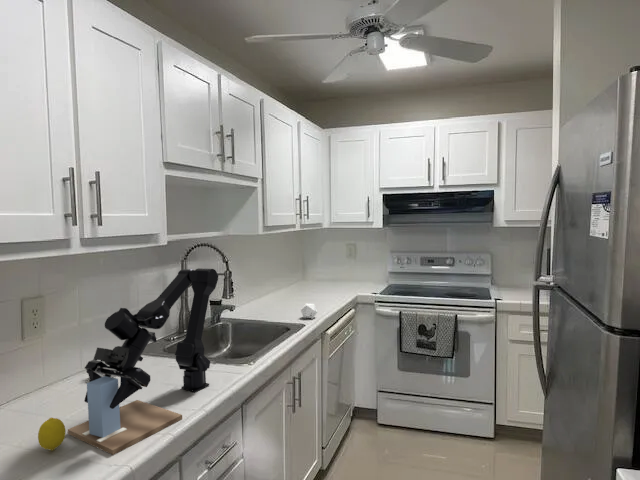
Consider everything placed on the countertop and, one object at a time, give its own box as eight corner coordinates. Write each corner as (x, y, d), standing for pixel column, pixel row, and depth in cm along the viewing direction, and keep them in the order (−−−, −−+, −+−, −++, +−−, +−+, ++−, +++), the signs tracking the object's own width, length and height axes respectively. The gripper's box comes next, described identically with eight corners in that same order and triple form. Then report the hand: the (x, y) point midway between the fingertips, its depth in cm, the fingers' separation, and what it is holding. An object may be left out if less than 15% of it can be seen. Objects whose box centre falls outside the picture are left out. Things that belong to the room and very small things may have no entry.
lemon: (71, 443, 102) (69, 412, 102) (57, 456, 97) (55, 423, 96) (48, 444, 102) (46, 413, 102) (33, 457, 97) (31, 424, 96)
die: (306, 321, 222) (317, 307, 222) (295, 312, 226) (305, 298, 226) (312, 323, 229) (322, 309, 229) (301, 314, 233) (311, 300, 233)
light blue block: (107, 424, 109) (104, 376, 108) (120, 428, 106) (117, 378, 106) (89, 433, 104) (86, 383, 103) (103, 437, 102) (100, 386, 101)
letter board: (137, 403, 124) (137, 399, 124) (182, 418, 114) (182, 414, 113) (67, 433, 107) (67, 428, 107) (113, 455, 97) (112, 449, 97)
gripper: (89, 330, 112) (50, 386, 102) (139, 336, 104) (102, 397, 94) (116, 350, 119) (82, 404, 110) (164, 358, 111) (132, 416, 102)
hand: (98, 405), depth 104 cm, fingers open, 9 cm apart
